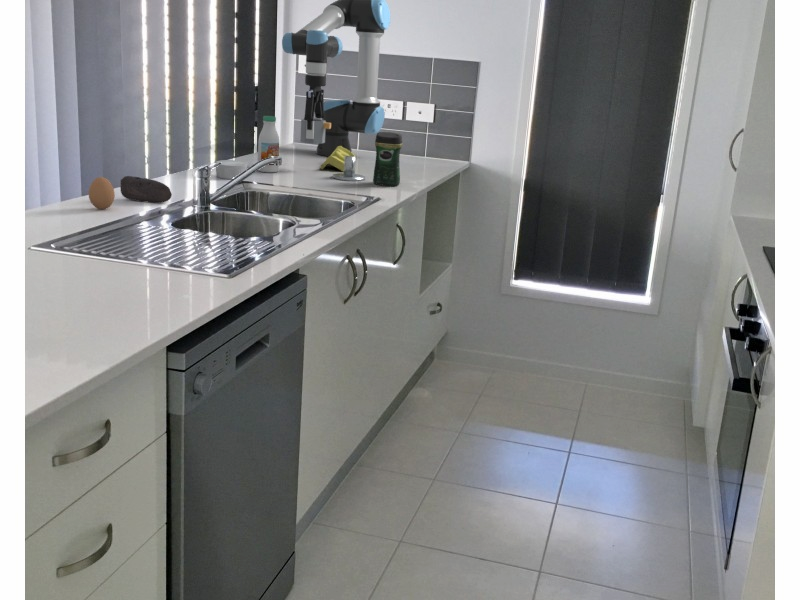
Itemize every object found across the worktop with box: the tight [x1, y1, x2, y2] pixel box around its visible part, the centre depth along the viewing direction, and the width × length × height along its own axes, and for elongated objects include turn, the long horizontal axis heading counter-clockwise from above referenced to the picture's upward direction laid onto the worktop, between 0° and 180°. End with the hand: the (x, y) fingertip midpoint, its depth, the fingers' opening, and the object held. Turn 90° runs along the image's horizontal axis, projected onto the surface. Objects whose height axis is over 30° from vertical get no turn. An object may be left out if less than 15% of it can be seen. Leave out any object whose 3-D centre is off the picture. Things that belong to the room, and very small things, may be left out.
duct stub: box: [332, 155, 366, 182], centre depth 312 cm, size 12×12×8 cm
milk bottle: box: [257, 115, 280, 173], centre depth 312 cm, size 8×8×20 cm
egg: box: [88, 176, 116, 210], centre depth 234 cm, size 7×7×9 cm
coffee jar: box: [372, 131, 403, 187], centre depth 304 cm, size 10×8×19 cm
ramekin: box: [214, 159, 248, 180], centre depth 297 cm, size 11×11×5 cm
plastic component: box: [319, 146, 357, 173], centre depth 335 cm, size 20×7×10 cm
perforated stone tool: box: [119, 175, 173, 203], centre depth 248 cm, size 15×5×7 cm, turn 80°
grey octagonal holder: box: [300, 118, 331, 145], centre depth 316 cm, size 8×11×8 cm
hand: (313, 137), depth 317 cm, fingers closed on grey octagonal holder, 8 cm apart
